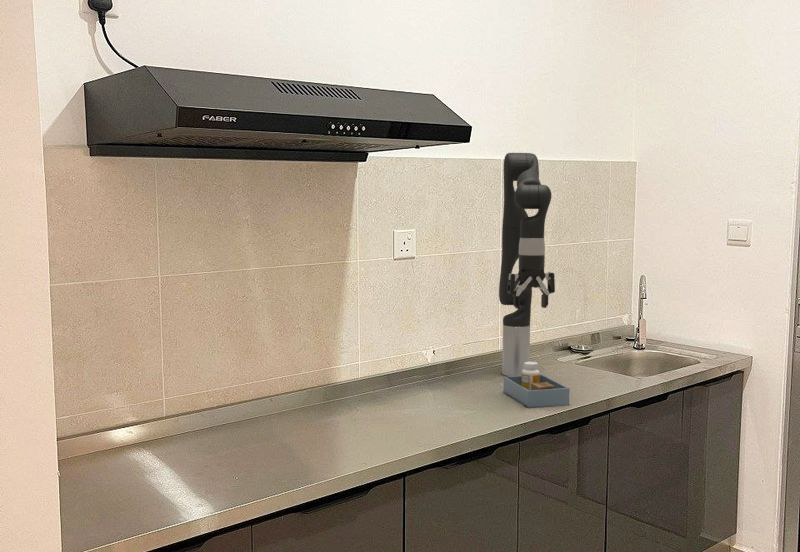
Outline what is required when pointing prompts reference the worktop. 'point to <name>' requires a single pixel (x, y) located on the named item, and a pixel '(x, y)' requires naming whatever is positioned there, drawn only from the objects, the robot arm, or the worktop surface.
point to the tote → (536, 393)
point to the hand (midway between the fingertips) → (530, 308)
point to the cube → (541, 386)
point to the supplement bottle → (530, 375)
